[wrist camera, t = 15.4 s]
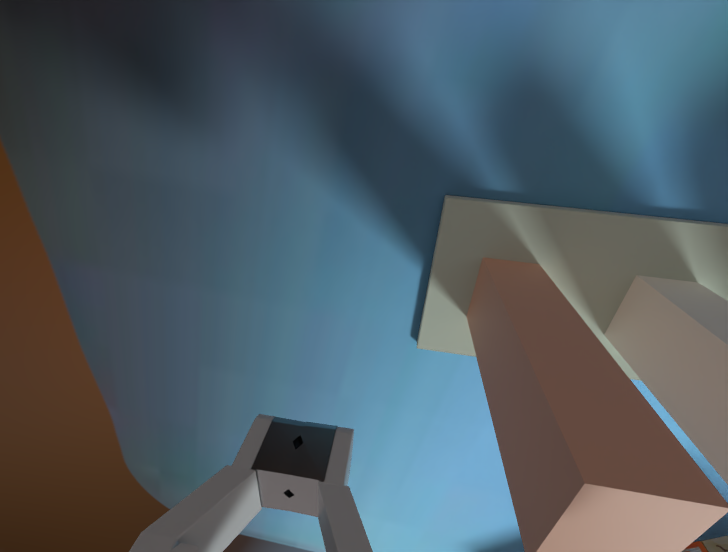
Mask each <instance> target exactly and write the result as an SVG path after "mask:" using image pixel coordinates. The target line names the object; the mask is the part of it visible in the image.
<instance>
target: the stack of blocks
mask: <svg viewBox="0 0 728 552" xmlns="http://www.w3.org/2000/svg"><path fill="white" fill-rule="evenodd" d="M681 552H728V535H727V536H723V537H718V538H714V539H709V540H705V541H698V542H693V543H691V544H690V545H689V546H687V547H686V548H685V549H684V550H683V551H681Z"/></svg>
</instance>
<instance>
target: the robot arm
mask: <svg viewBox="0 0 728 552" xmlns="http://www.w3.org/2000/svg"><path fill="white" fill-rule="evenodd" d="M353 436H354V429H350V428H343V427H337V426H333V425H326V424H319V423H312V422H303V421H297V420H291V419H285V418H279V417H275V416H268V415H262V414H259V415H258V416H257V417H256V418H255V420H254V422H253V424H252V426H251V428H250V430H249V432H248V434H247V436H246V438H245V440H244V442H243V444H242V446H241V448H240V450H239V452H238V454H237V456H236V458H235V460H234V462H233V464H232V466H229V465H227V466H225V467H224V468H223V469H221V470H220V471H219V472H218V473H216V474H215V475H214V476H213V477H211V478H210V479H209V480H207V481H206V482H205V483H204V484H202V485H201V486H200V487H199V488H197V489H196V490H195V491H193V492H192V493H191V494H190V495H188V496H187V497H186V498H185V499H183V500H182V501H181V502H179V503H178V504H177V505H176V506H174V507H173V508H172V509H171V510H169V511H168V512H167V513H165V514H164V515H163V516H162V517H160V518H159V519H158V520H157V521H155V522H154V523H153V524H152V525H150V526H149V527H148V528H147V529H145V530H144V531H143V532H142V533H141V534H140V535H139V537H138V539H137V540H136V542H135V543H134V545H133V546H132V548H131V550H130V551H129V552H223V551H224V549H225V548H226V547H227V546H228V545H229V544H230V543H231V542H232V541H233V540H234V538H235V537H236V536H237V535H238V534H239V533H240V532H241V531H242V530H243V529H244V528H245V526H246V525H247V524H248V523H249V522H250V521H251V520H252V519H253V518H254V517H255V516H256V514H257V513H258V512H259V511H260V510H261V507H266V508H273V509H280V510H286V511H292V512H297V513H301V514H306V515H311V516H315V517H318V519H319V524H320V528H321V532H322V536H323V540H324V545H325V549H326V552H373V551H372V549H371V546H370V543H369V540H368V538H367V535H366V532H365V529H364V527H363V524H362V521H361V518H360V516H359V513H358V510H357V507H356V505H355V502H354V499H353V496H352V494H351V491H350V488H349V486H347V485H348V479H349V473H350V466H351V457H352V448H353Z"/></svg>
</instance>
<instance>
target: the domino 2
mask: <svg viewBox="0 0 728 552" xmlns="http://www.w3.org/2000/svg"><path fill="white" fill-rule="evenodd" d="M604 335H605V337H606V338H607V339H608V340H609V342H610V343H611V344H612V345H613V346H614V348H615V349H616V350H617V351H618V352H619V354H620V355H621V356H622V357H623V359H624V360H625V361H626V362H627V363H628V365H629V366H630V367H631V368H632V369H633V371H634V372H635V373H636V374H637V375H638V377H639V378H640V379H641V380H642V382H643V383H644V384H645V385H646V386H647V388H648V389H649V390H650V391H651V392H652V394H653V395H654V396H655V397H656V398H657V400H658V401H659V402H660V403H661V405H662V406H663V407H664V408H665V409H666V411H667V412H668V413H669V414H670V415H671V417H672V418H673V419H674V420H675V422H676V423H677V424H678V425H679V426H680V428H681V429H682V430H683V431H684V432H685V434H686V435H687V436H688V437H689V438H690V440H691V441H692V442H693V443H694V445H695V446H696V447H697V448H698V449H699V451H700V452H701V453H702V454H703V455H704V457H705V458H706V459H707V460H708V462H709V463H710V464H711V465H712V466H713V468H714V469H715V470H716V471H717V472H718V474H719V475H720V476H721V477H722V478H723V480H724V481H725V482H726V483H727V485H728V301H727V300H725V299H724V298H722V297H720V296H719V295H717V294H716V293H714V292H712V291H711V290H709V289H708V288H706V287H704V286H703V285H701V284H700V283H698V282H691V281H682V280H674V279H665V278H657V277H648V276H640V275H636V277H635V279H634V281H633V282H632V284H631V286H630V288H629V290H628V292H627V293H626V295H625V297H624V299H623V301H622V303H621V304H620V306H619V308H618V310H617V312H616V314H615V315H614V317H613V319H612V321H611V323H610V325H609V326H608V328H607V330H606V332H605V334H604Z"/></svg>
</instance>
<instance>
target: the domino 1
mask: <svg viewBox="0 0 728 552" xmlns="http://www.w3.org/2000/svg"><path fill="white" fill-rule="evenodd" d="M466 317H467V321H468V325H469V329H470V333H471V337H472V341H473V345H474V349H475V353H476V357H477V361H478V365H479V369H480V373H481V377H482V381H483V385H484V389H485V393H486V397H487V401H488V405H489V409H490V413H491V417H492V421H493V425H494V429H495V433H496V438H497V442H498V446H499V450H500V454H501V458H502V462H503V466H504V470H505V474H506V478H507V482H508V486H509V490H510V494H511V498H512V502H513V506H514V510H515V514H516V518H517V522H518V526H519V530H520V534H521V538H522V542H523V546H524V550H525V552H681V551H683V550H684V549H685V548H686V547H687V546H689V545H690V544H691V543H692V542H693V541H694V540H696V539H697V538H698V537H699V536H700V535H702V534H703V533H704V532H705V531H706V530H707V529H709V528H710V527H711V526H712V525H713V524H715V523H716V522H717V521H718V520H719V519H720V518H722V517H723V516H724V515H725V514H726V513H728V503H727V502H726V501H725V500H724V498H723V497H722V496H721V494H720V493H719V492H718V491H717V489H716V488H715V487H714V486H713V484H712V483H711V482H710V480H709V479H708V478H707V477H706V475H705V474H704V473H703V472H702V470H701V469H700V468H699V466H698V465H697V464H696V463H695V461H694V460H693V459H692V458H691V456H690V455H689V454H688V452H687V451H686V450H685V449H684V447H683V446H682V445H681V444H680V442H679V441H678V440H677V438H676V437H675V436H674V435H673V433H672V432H671V431H670V430H669V428H668V427H667V426H666V424H665V423H664V422H663V421H662V419H661V418H660V417H659V416H658V414H657V413H656V412H655V410H654V409H653V408H652V407H651V405H650V404H649V403H648V402H647V400H646V399H645V398H644V397H643V395H642V394H641V393H640V391H639V390H638V389H637V388H636V386H635V385H634V384H633V383H632V381H631V380H630V379H629V377H628V376H627V375H626V374H625V372H624V371H623V370H622V369H621V367H620V366H619V365H618V363H617V362H616V361H615V360H614V358H613V357H612V356H611V355H610V353H609V352H608V351H607V349H606V348H605V347H604V346H603V344H602V343H601V342H600V341H599V339H598V338H597V337H596V335H595V334H594V333H593V332H592V330H591V329H590V328H589V327H588V325H587V324H586V323H585V321H584V320H583V319H582V318H581V316H580V315H579V314H578V313H577V311H576V310H575V309H574V307H573V306H572V305H571V304H570V302H569V301H568V300H567V299H566V297H565V296H564V295H563V293H562V292H561V291H560V290H559V288H558V287H557V286H556V285H555V283H554V282H553V281H552V279H551V278H550V277H549V276H548V274H547V273H546V272H545V271H544V269H543V268H542V267H541V266H540V264H534V263H526V262H518V261H509V260H501V259H492V258H484V257H483V258H482V262H481V266H480V269H479V273H478V277H477V280H476V284H475V287H474V291H473V295H472V298H471V302H470V306H469V309H468V313H467V316H466Z"/></svg>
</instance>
